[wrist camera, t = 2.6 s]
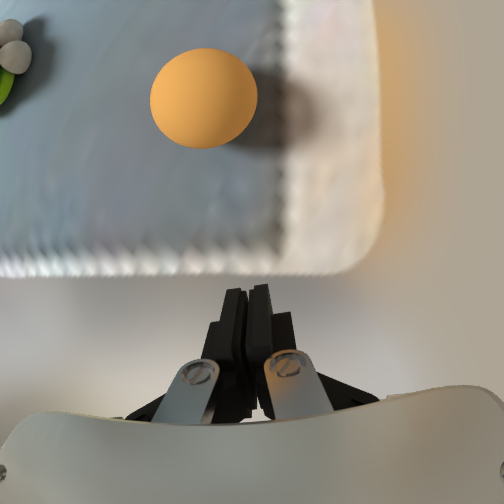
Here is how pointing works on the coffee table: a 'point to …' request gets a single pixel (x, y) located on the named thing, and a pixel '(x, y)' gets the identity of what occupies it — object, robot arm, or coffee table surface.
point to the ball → (203, 98)
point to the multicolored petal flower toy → (12, 55)
